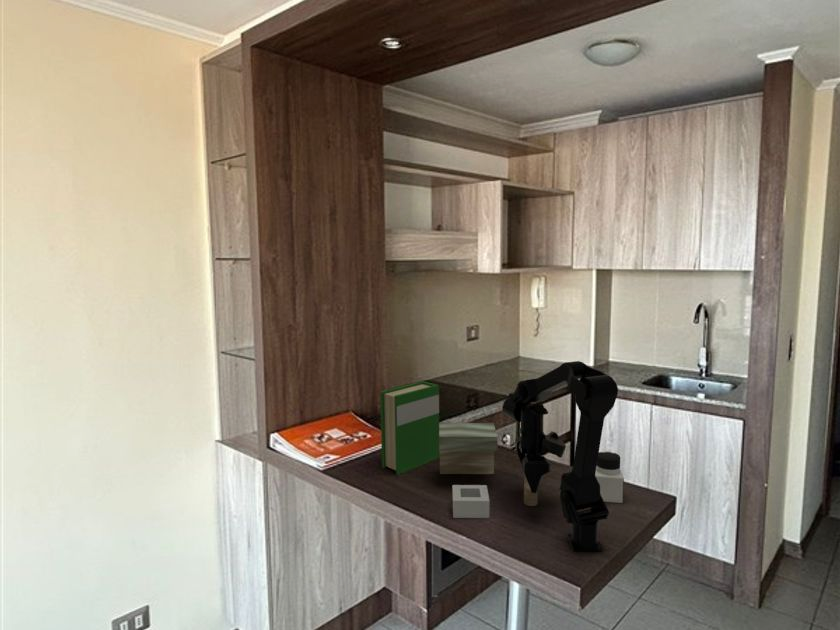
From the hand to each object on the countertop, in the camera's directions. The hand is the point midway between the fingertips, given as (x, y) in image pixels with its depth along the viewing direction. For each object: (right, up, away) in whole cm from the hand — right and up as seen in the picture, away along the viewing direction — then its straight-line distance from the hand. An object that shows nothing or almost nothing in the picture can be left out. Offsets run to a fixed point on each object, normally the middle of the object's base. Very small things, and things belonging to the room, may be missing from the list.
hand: (531, 485), depth 144 cm
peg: (0, -5, +1) cm, 5 cm away
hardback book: (-32, -2, +28) cm, 42 cm away
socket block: (-16, -6, -3) cm, 17 cm away
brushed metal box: (-15, -3, +15) cm, 22 cm away
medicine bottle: (+21, -4, +4) cm, 22 cm away
